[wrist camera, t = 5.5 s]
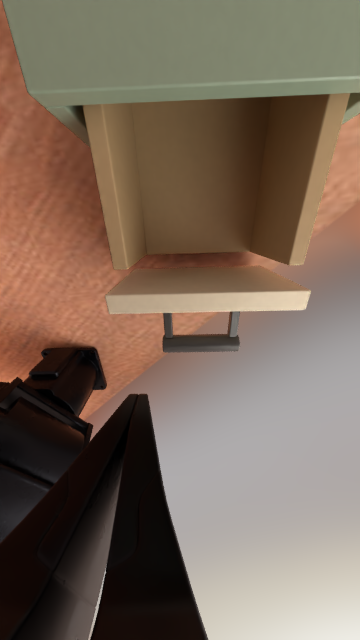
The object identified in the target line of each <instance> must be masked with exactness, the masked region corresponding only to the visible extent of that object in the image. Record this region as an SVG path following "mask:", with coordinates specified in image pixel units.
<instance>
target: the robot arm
mask: <svg viewBox="0 0 360 640" xmlns="http://www.w3.org/2000/svg"><path fill="white" fill-rule="evenodd" d="M92 352H93V353H92ZM41 354H42V356H43V358H44V359H43V360H42V361H41V362H39V363H38V364H37V365H36V366H35V367H34V368H33V369H32V370H31V371H30V372H29V375H30V376H29V377H28V378H27V379H26V380H25V381H24V382H22V381H23V380H21V379H20V378H18V377H17V378H16V379H14V380H13V381H12V382H11V383H9V382H7V383H6V382H0V640H88V637H89V633H90V629H91V625H92V622H93V617H94V613H95V607H96V605H97V601H98V597H99V593H100V589H101V585H102V580H103V576H104V572H105V568H106V574H105V578H104V584H103V590H102V595H101V600H100V604H99V609H98V613H97V617H96V621H95V625H94V628H93V632H92V636H91V639H90V640H208V638H207V634H206V631H205V628H204V625H203V622H202V619H201V616H200V613H199V610H198V607H197V604H196V601H195V597H194V594H193V591H192V588H191V584H190V581H189V578H188V574H187V571H186V567H185V564H184V561H183V557H182V554H181V551H180V547H179V543H178V540H177V536H176V533H175V530H174V526H173V523H172V519H171V516H170V512H169V508H168V504H167V501H166V496H165V491H164V486H163V481H162V475H161V470H160V464H159V458H158V452H157V447H156V441H155V435H154V429H153V423H152V417H151V412H150V406H149V401H148V395H147V394H139V395H138V394H130V395H128V397H127V398H126V399H125V400H124V401H123V403H122V404H121V405H120V406H119V407H118V409H117V410H116V411H115V412H114V413H113V415H112V416H111V417H110V418H109V419H108V421H107V422H106V423H105V424H104V426H103V427H102V428H101V429H100V430H99V432H98V433H97V434H96V435H95V436H94V437H93V439H92V440H91V441H90V437H91V433H92V429H93V425H92V424H90V423H87V422H85V421H84V420H82V419H81V418H79V415H80V413H81V412H82V410H83V408H84V406H85V404H86V402H87V401H88V399H89V397H90V395H91V393H92V391H93V390H103V389H105V388H106V386H107V383H106V380H105V376H104V373H103V369H102V366H101V362H100V359H99V356H98V352H97V350H96V349H95V348H51V349H44V350H43V351H42V352H41ZM106 564H107V566H106Z"/></svg>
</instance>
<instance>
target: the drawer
mask: <svg viewBox="0 0 360 640" xmlns="http://www.w3.org/2000/svg"><path fill="white" fill-rule="evenodd" d="M349 96H350V93H339V94H316V95H294V96H272V97H249V98H227V99H205V100H182V101H160V102H138V103H115V104H93V105H82V106H83V112H84V117H85V122H86V127H87V133H88V138H89V143H90V148H91V154H92V159H93V164H94V169H95V174H96V180H97V185H98V190H99V195H100V201H101V206H102V211H103V216H104V222H105V227H106V232H107V237H108V242H109V248H110V253H111V258H112V263H113V268H114V270H127V269H129V268H130V267H131V266H133V265H134V264H135V263H137V262H138V261H139V260H140V259H142V258H143V257H144V256H146V255H156V254H191V253H227V252H252V253H255V254H258V255H261V256H264V257H267V258H269V259H272V260H275V261H278V262H281V263H284V264H287V265H303V263H304V260H305V256H306V253H307V249H308V245H309V242H310V238H311V235H312V231H313V227H314V224H315V220H316V216H317V213H318V209H319V205H320V202H321V198H322V194H323V191H324V187H325V184H326V180H327V176H328V173H329V169H330V165H331V162H332V158H333V154H334V151H335V147H336V143H337V140H338V136H339V132H340V129H341V125H342V122H343V118H344V114H345V111H346V107H347V103H348V100H349ZM310 293H311V290H309V289H307V288H305V287H303V286H301V285H299V284H297V283H295V282H293V281H291V280H288V279H286V278H284V277H282V276H280V275H278V274H276V273H274V272H272V271H270V270H268V269H266V268H264V267H262V266H224V267H186V268H149V269H134V270H133V271H132V272H131V273H130V274H129V275H127V276H126V277H125V278H124V279H123V280H122V281H121V282H120V283H118V284H117V285H116V286H115V287H114V288H113V289H112V290H110V291H109V292H108V293H107V294H106V295H105V299H106V303H107V307H108V312H109V314H136V313H163V317H164V330H165V335H164V336H163V352H220V351H222V352H223V351H238V350H239V345H240V342H239V337H238V335H237V329H238V321H239V315H240V311H273V310H305V309H306V306H307V303H308V299H309V296H310ZM225 311H230V315H229V324H228V334H205V335H204V334H203V335H173V326H172V313H182V312H225Z"/></svg>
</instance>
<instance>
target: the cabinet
mask: <svg viewBox="0 0 360 640" xmlns="http://www.w3.org/2000/svg"><path fill="white" fill-rule="evenodd" d="M2 2H3V6H4V10H5V13H6V17H7V20H8V24H9V27H10V31H11V34H12V38H13V42H14V45H15V49H16V52H17V56H18V59H19V63H20V67H21V70H22V74H23V77H24V81H25V84H26V88H27V91H28V93H29V94H30V95H31V96H32V97H33V98H34V99H35V100H36V101H38V102H39V103H40V104H41V105H42V106H44V107H45V108H46V109H47V110H48V111H49V112H50V113H51V114H52V115H54V116H55V117H56V118H57V119H58V120H59V121H60V122H62V123H63V124H64V125H65V126H66V127H67V128H68V129H69V130H71V131H72V132H73V133H74V134H75V135H76V136H77V137H79V138H80V139H81V140H82V141H83V142H84V143H85V144H87V145H88V146H89V147H90V143H89V138H88V133H87V127H86V122H85V117H84V112H83V106H82V105H93V104H115V103H138V102H160V101H182V100H205V99H227V98H249V97H272V96H294V95H316V94H339V93H350V96H349V100H348V103H347V107H346V111H345V114H344V118H343V122H342V124H344V123H345V122H347V121H348V120H350V119H351V118H353V117H355V116H356V115H358V114H359V113H360V0H2Z"/></svg>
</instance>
